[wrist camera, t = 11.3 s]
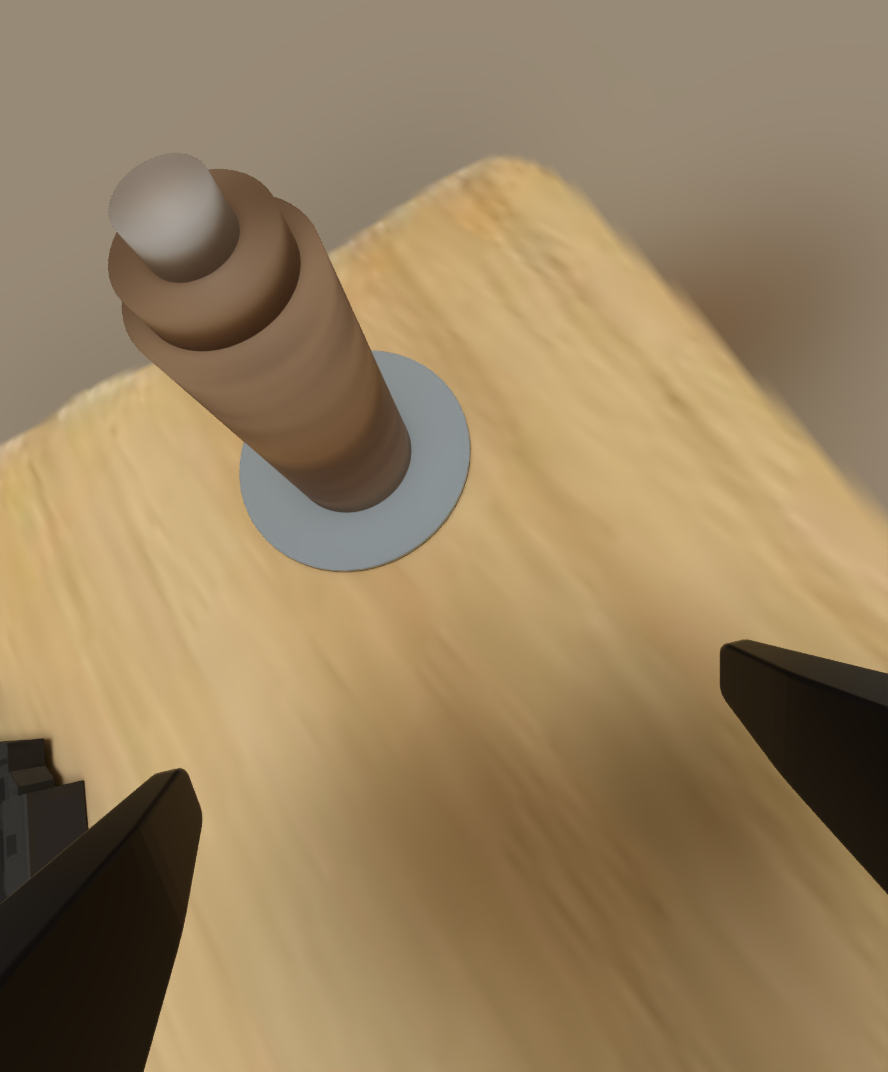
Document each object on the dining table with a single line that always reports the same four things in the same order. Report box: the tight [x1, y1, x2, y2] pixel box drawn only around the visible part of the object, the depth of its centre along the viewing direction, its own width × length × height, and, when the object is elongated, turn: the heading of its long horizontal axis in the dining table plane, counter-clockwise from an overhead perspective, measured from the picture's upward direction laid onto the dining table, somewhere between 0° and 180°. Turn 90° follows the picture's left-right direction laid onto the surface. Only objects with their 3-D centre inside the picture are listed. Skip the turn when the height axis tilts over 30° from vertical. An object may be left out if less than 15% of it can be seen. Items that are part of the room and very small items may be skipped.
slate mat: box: [239, 351, 470, 572], centre depth 24 cm, size 11×11×1 cm
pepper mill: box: [108, 153, 412, 513], centre depth 18 cm, size 6×6×13 cm
